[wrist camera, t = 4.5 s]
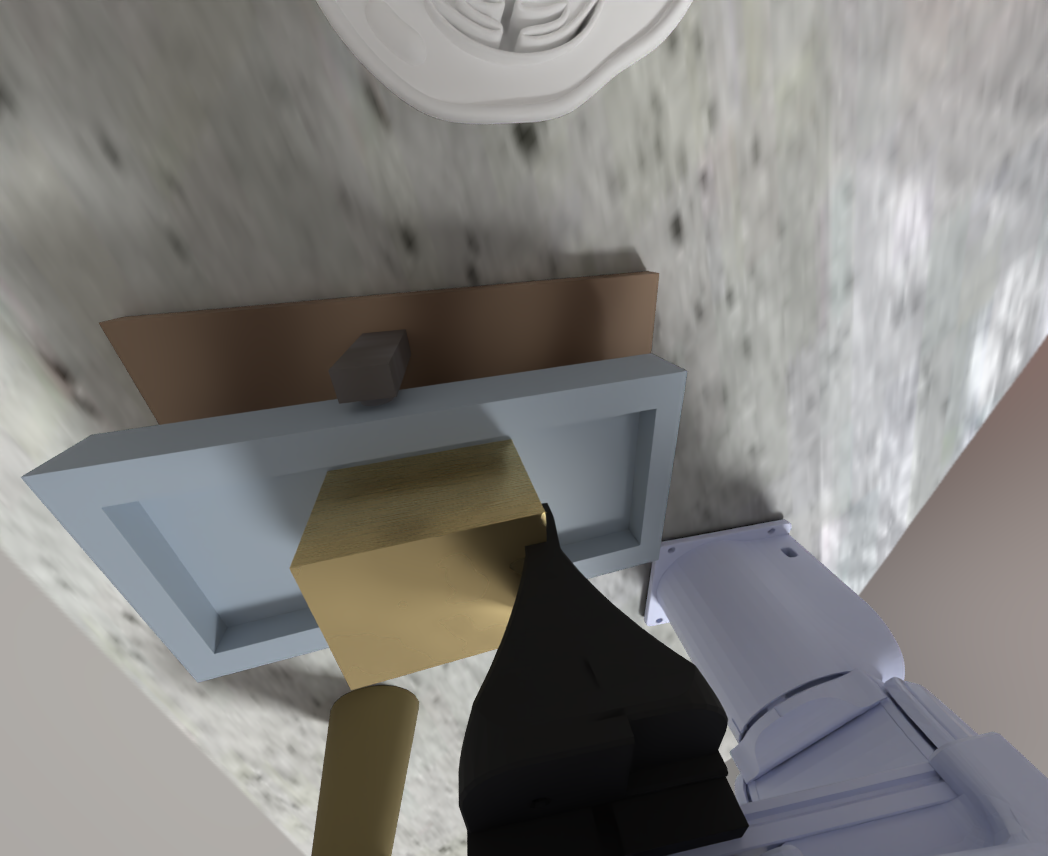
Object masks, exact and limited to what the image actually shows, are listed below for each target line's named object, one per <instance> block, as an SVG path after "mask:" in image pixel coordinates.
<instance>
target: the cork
mask: <svg viewBox="0 0 1048 856" xmlns="http://www.w3.org/2000/svg"><path fill="white" fill-rule="evenodd" d="M418 710H419V701H418V699H417V698H416V696H415V695H414V694H412V693H411V692H409V691H408V690H406V689H403V688H399V687H396V686H385V685H379V686H368V687H364V688H361V689H357V690H353V691H351V692H349V693H347V694H345V695H343V696H342V697H341V698H340V699H338V700H337V701H336V702H335V703H334V705H333V707H332V709H331V711H330V719H329V726H328V734H327V741H326V749H325V757H324V764H323V772H322V779H321V787H320V795H319V802H318V810H317V817H316V825H315V832H314V840H313V848H312V855H311V856H391V854H392V849H393V843H394V838H395V832H396V827H397V822H398V816H399V811H400V806H401V800H402V795H403V790H404V784H405V779H406V774H407V768H408V763H409V758H410V752H411V747H412V742H413V736H414V731H415V726H416V720H417V715H418Z"/></svg>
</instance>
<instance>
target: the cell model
mask: <svg viewBox="0 0 1048 856" xmlns="http://www.w3.org/2000/svg"><path fill="white" fill-rule="evenodd" d="M316 2H317V4H318V6H319V7H320V9H321V10H322V12H323V13H324V15H325V17H326V18H327V20H328V21H329V23H330V24H331V26H332V27H333V29H334V30H335V31H336V33H337V34H338V35H339V37H340V38H341V39H342V41H343V42H344V43H345V45H346V46H347V47H348V48H349V49H350V51H351V52H352V53H353V54H354V55H355V57H356V58H357V59H358V60H359V61H360V62H361V63H362V64H363V65H364V66H365V67H366V68H367V69H368V70H369V71H370V72H371V73H372V74H373V75H374V76H375V77H376V78H377V79H378V80H379V81H380V82H381V83H382V84H383V85H385V86H386V87H387V88H388V89H389V90H390V91H392V92H393V93H394V94H395V95H396V96H398V97H399V98H400V99H402V100H403V101H404V102H406V103H407V104H409V105H410V106H412V107H413V108H415V109H417V110H418V111H420V112H422V113H424V114H426V115H428V116H431V117H434V118H437V119H440V120H444V121H449V122H455V123H463V124H509V123H527V122H539V121H547V120H551V119H555V118H559V117H561V116H564V115H566V114H568V113H570V112H572V111H573V110H575V109H576V108H578V107H579V106H581V105H582V104H583V103H585V102H586V101H587V100H588V99H589V98H591V97H592V96H593V95H594V94H595V93H596V92H597V91H599V90H600V89H601V88H602V87H603V86H604V85H605V84H606V83H608V82H609V81H610V80H611V79H612V78H613V77H615V76H616V75H617V74H619V73H620V72H622V71H623V70H625V69H626V68H628V67H629V66H631V65H632V64H634V63H636V62H637V61H639V60H640V59H642V58H643V57H645V56H646V55H648V54H649V53H650V52H652V51H653V50H654V49H656V48H657V47H658V46H659V45H660V44H661V43H662V42H663V41H664V40H665V39H666V38H667V37H668V36H669V34H670V33H671V32H672V31H673V30H674V28H675V27H676V26H677V25H678V23H679V22H680V20H681V19H682V18H683V16H684V15H685V13H686V11H687V10H688V8H689V7H690V5H691V3H692V2H693V0H316Z"/></svg>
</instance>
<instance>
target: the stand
mask: <svg viewBox="0 0 1048 856" xmlns="http://www.w3.org/2000/svg"><path fill="white" fill-rule="evenodd" d="M658 280H659V273H655V272H649V271H644V272H633V273H622V274H610V275H599V276H587V277H576V278H564V279H553V280H541V281H530V282H519V283H507V284H496V285H484V286H473V287H461V288H450V289H438V290H427V291H416V292H404V293H393V294H381V295H370V296H358V297H347V298H335V299H324V300H312V301H301V302H290V303H278V304H267V305H255V306H244V307H232V308H221V309H209V310H198V311H187V312H175V313H164V314H152V315H141V316H129V317H121V318H116V319H112V320H108V321H104V322H100V323H99V324H100V326H101V328H102V329H103V331H104V333H105V334H106V336H107V338H108V339H109V341H110V343H111V344H112V346H113V348H114V349H115V351H116V353H117V355H118V356H119V358H120V360H121V361H122V363H123V365H124V366H125V368H126V370H127V371H128V373H129V375H130V376H131V378H132V380H133V381H134V383H135V385H136V386H137V388H138V390H139V391H140V393H141V395H142V396H143V398H144V400H145V401H146V403H147V405H148V406H149V408H150V410H151V412H152V413H153V415H154V417H155V418H156V420H157V422H158V423H159V425H162V424H169V423H176V422H183V421H190V420H197V419H203V418H210V417H217V416H224V415H231V414H238V413H245V412H251V411H258V410H265V409H272V408H279V407H286V406H293V405H299V404H306V403H313V402H320V401H327V400H334V399H338V402H339V404H342V403H350V402H359V401H367V400H375V399H383V398H392V397H397V394H398V391H399V390H402V389H409V388H416V387H423V386H430V385H437V384H444V383H451V382H457V381H464V380H471V379H478V378H485V377H492V376H499V375H505V374H512V373H519V372H526V371H533V370H540V369H547V368H553V367H560V366H567V365H574V364H581V363H588V362H595V361H602V360H608V359H615V358H622V357H629V356H636V355H643V354H650V353H651V349H652V339H653V329H654V319H655V310H656V300H657V290H658Z"/></svg>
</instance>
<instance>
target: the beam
mask: <svg viewBox="0 0 1048 856" xmlns="http://www.w3.org/2000/svg"><path fill="white" fill-rule="evenodd" d="M686 378H687V370H685V369H683V368H681V367H678V366H676V365H674V364H672V363H670V362H668V361H666V360H664V359H662V358H660V357H658V356H656V355H654V354H652V353H650V354H643V355H636V356H629V357H622V358H615V359H608V360H602V361H595V362H588V363H581V364H574V365H567V366H560V367H553V368H547V369H540V370H533V371H526V372H519V373H512V374H505V375H499V376H492V377H485V378H478V379H471V380H464V381H457V382H451V383H444V384H437V385H430V386H423V387H416V388H409V389H402V390H399V391H398V394H397V397H392V398H383V399H375V400H367V401H359V402H350V403H342V404H339V402H338V399H334V400H327V401H320V402H313V403H306V404H299V405H293V406H286V407H279V408H272V409H265V410H258V411H251V412H245V413H238V414H231V415H224V416H217V417H210V418H203V419H197V420H190V421H183V422H176V423H169V424H162V425H155V426H148V427H142V428H135V429H128V430H121V431H114V432H107V433H100V434H94V435H90V436H89V437H87V438H85V439H84V440H82V441H80V442H79V443H77V444H75V445H74V446H72V447H70V448H69V449H67V450H65V451H64V452H62V453H60V454H59V455H57V456H55V457H53V458H52V459H50V460H48V461H47V462H45V463H43V464H42V465H40V466H38V467H37V468H35V469H33V470H32V471H30V472H28V473H27V474H25V475H23V476H22V477H21V478H22V479H23V481H24V482H25V483H26V484H27V485H28V486H29V487H30V489H31V490H32V491H33V492H34V493H35V494H36V496H37V497H38V498H39V499H40V500H41V501H42V503H43V504H44V505H45V506H46V507H47V508H48V510H49V511H50V512H51V513H52V514H53V515H54V516H55V518H56V519H57V520H58V521H59V522H60V523H61V525H62V526H63V527H64V528H65V529H66V530H67V532H68V533H69V534H70V535H71V536H72V537H73V539H74V540H75V541H76V542H77V543H78V544H79V545H80V547H81V548H82V549H83V550H84V551H85V552H86V554H87V555H88V556H89V557H90V558H91V559H92V561H93V562H94V563H95V564H96V565H97V566H98V568H99V569H100V570H101V571H102V572H103V573H104V574H105V576H106V577H107V578H108V579H109V580H110V581H111V583H112V584H113V585H114V586H115V587H116V588H117V590H118V591H119V592H120V593H121V594H122V595H123V597H124V598H125V599H126V600H127V601H128V602H129V603H130V605H131V606H132V607H133V608H134V609H135V610H136V612H137V613H138V614H139V615H140V616H141V617H142V619H143V620H144V621H145V622H146V623H147V624H148V626H149V627H150V628H151V629H152V630H153V631H154V632H155V634H156V635H157V636H158V637H159V638H160V639H161V641H162V642H163V643H164V644H165V645H166V646H167V648H168V649H169V650H170V651H171V652H172V653H173V655H174V656H175V657H176V658H177V659H178V660H179V661H180V663H181V664H182V665H183V666H184V667H185V668H186V670H187V671H188V672H189V673H190V674H191V675H192V677H193V678H194V679H195V680H196V681H197V682H202V681H206V680H210V679H213V678H217V677H221V676H225V675H228V674H232V673H236V672H240V671H243V670H247V669H251V668H255V667H258V666H262V665H266V664H270V663H273V662H277V661H281V660H285V659H288V658H292V657H296V656H300V655H303V654H307V653H311V652H315V651H318V650H322V649H326V648H329V646H328V644H327V642H326V640H325V638H324V636H323V634H322V632H321V630H320V628H319V626H318V624H317V622H316V620H315V618H314V616H313V614H312V612H311V610H310V608H309V606H308V604H307V602H306V600H305V598H304V596H303V595H302V593H301V591H300V589H299V587H298V585H297V583H296V581H295V579H294V577H293V575H292V573H291V571H290V569H289V568H290V565H291V563H292V560H293V558H294V555H295V553H296V550H297V548H298V545H299V543H300V540H301V537H302V535H303V532H304V530H305V527H306V525H307V522H308V520H309V517H310V514H311V512H312V509H313V507H314V504H315V502H316V499H317V497H318V494H319V492H320V489H321V486H322V484H323V481H324V479H325V476H326V474H327V471H332V470H338V469H344V468H350V467H355V466H361V465H367V464H372V463H378V462H384V461H389V460H395V459H401V458H406V457H412V456H418V455H423V454H429V453H435V452H440V451H446V450H452V449H458V448H463V447H469V446H475V445H480V444H486V443H492V442H497V441H503V440H509V439H512V441H513V443H514V446H515V448H516V450H517V452H518V454H519V456H520V458H521V461H522V463H523V465H524V467H525V469H526V471H527V474H528V476H529V478H530V480H531V482H532V484H533V486H534V489H535V491H536V493H537V495H538V497H539V499H540V502H541V503H548V505H549V507H550V509H551V512H552V514H553V516H554V520H555V525H556V529H557V534H558V538H559V543H560V548H561V549H562V551H563V552H564V553H565V554H566V556H567V557H568V558H569V559H570V560H571V562H572V563H573V564H574V565H575V566H576V567H577V569H578V570H579V571H580V572H581V573H582V574H583V575H584V576H585V577H586V578H587V579H589V578H592V577H596V576H600V575H604V574H607V573H611V572H615V571H619V570H622V569H626V568H630V567H634V566H637V565H641V564H645V563H649V562H652V561H656V560H658V559H659V553H660V547H661V540H662V534H663V527H664V521H665V514H666V508H667V501H668V495H669V488H670V482H671V475H672V469H673V462H674V456H675V449H676V443H677V436H678V430H679V423H680V417H681V410H682V404H683V397H684V391H685V384H686Z"/></svg>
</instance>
